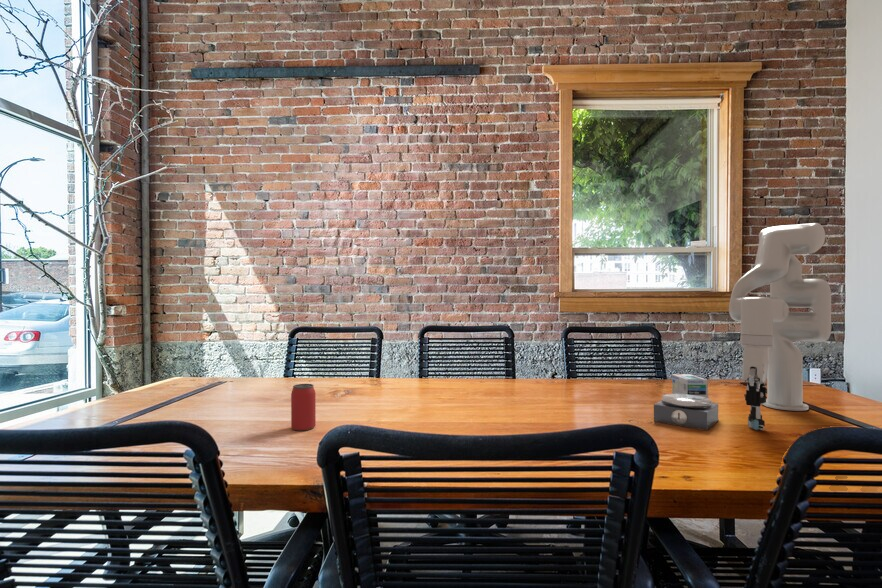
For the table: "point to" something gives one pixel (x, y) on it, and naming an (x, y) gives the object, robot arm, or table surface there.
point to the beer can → (303, 407)
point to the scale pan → (686, 400)
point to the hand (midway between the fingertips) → (756, 402)
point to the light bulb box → (689, 385)
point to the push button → (756, 415)
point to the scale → (686, 415)
